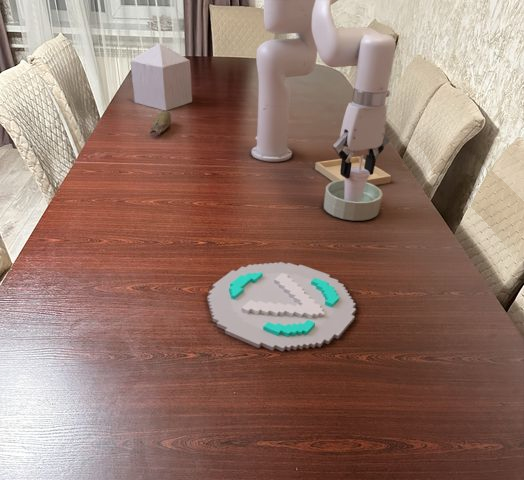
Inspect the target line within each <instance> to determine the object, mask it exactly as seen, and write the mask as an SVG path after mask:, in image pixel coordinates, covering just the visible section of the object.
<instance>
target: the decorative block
mask: <svg viewBox="0 0 524 480" xmlns="http://www.w3.org/2000/svg"><path fill="white" fill-rule="evenodd" d="M191 69H192V68H191V61H190V59H188V58H186V57H185V56H183V55H182V54H180V53H178V52H176V51H174V50H172V49H171V48H170V47H167V46H166V45H164V44H162V43H157V44H155V45H153V46H152V47H150V48H148V49H146V50H144V51H143V52H142V53H140V54H138V55H137V56H135V57H133V58H132V59H131V60H130V71H131V78H132V79H131V80H132V89H133V94H134V95H133V97H134V103H135V104H138V105H139V104H140V105H142V106H146V107H150V108H155V109H157V110H161V111H169V110H172V109H175V108H178V107H181V106H184V105H187V104H190V103H192V102H193V93H192V71H191Z"/></svg>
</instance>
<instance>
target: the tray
mask: <svg viewBox="0 0 524 480" xmlns="http://www.w3.org/2000/svg"><path fill="white" fill-rule="evenodd" d="M360 158H361V156H359V155H358V156H357V155H356V156H352V158H351V160H350V162H351V163H352V165H351V167H359V164H360ZM365 160H366V159H364V158H363V160H362V166H361V168H364V166H365ZM341 162H342V159H340V158H338V159H337V158H336V159H331V160H324V161H317V162H315V165H314V169H315V171H317V172H318V173H320V174H321V175H323V176H324V177H325V178H327V179H328V180H330V181H331V182H333V181H338V180H345V177H343V176H342V175H341V174H340V169H341ZM391 181H392V175H391V174H389V173H388V172H386V171H385V170H383V169H381V168H380V167H378V166H376V165H375V167H374V172H373V174H372V175H370V174H369V178H368V179H367V183H370V184H373V185H375V186H378V185H384V184H391Z"/></svg>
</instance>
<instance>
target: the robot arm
mask: <svg viewBox="0 0 524 480" xmlns="http://www.w3.org/2000/svg"><path fill="white" fill-rule="evenodd" d="M338 1H339V0H263V25H264V28H265V30H266V31H267V32H269V33H270V34H273V35H274V34H275V35H287V34H295V38H274V39H269V40H266V41H263V42H262V43H261V44H260V45H259V46H258V47H257V50H256V54H255V59H256V60H255V61H256V69H257V80H258V98H257V103H258V104H257V125H256V126H257V127H256V136H255V140H256V146H254V147H252V149H251V155H252V157H253V158H255V159H257V160H259V161H263V162H269V163H279V162H285V161H287V160H290V158H292V155H293V151H292V150H291V149H290V148H289V147H288V140H289V128H290V115H291V99H292V96H291V95H292V94H291V91H290V88H289V86H288V84H287V82H286V78H291V77H292V78H294V77H295V78H296V77H303V76H308V75H310V74H311V73H312V72H314V70H315V67H316V64H317V59H318V55H319V58H320V59H321V62H322V63H323V64H325V66H327V67H330V68H344V67H356V71H355V78H354V83H353V85H354V86H353V92H352V98H351V102H348V105H347V107H346V109H345V112H344V117H343V119H342V124H341V128H340V129H341V130H340V134H339V138H337V141H336V142H335V143H334V144H333V145H332V149H333V150H334V152H336V154H337V155H338V157H339V159H342V162H341V169H340V174H341V175H342V176H343V177H345V178H346V179H348V178H349V177H350V171H351V165H352V163H351V162H350V160H351V158H352V157H354V154H355V152H357V151H365V150H367V153H368V154H366V156H365V159H364V160H365V166H364V169H366V170H368V171H369V172H370V175H372V174H373V172H374V167H375V166H376V162H377V159H378V158H379V157H380V154H381V153H382V152H383V150H384V149H385V148H386V146H387V145H388V144H389V143H390V139H389V137H388V136H387V134H386V132H385V131H386V125H387V124H386V123H387V104H386V100H387V98H388V97H390V94H391V91H390V90H389V84H390V78H391V75H392V74H391V73H392V68H393V62H394V57H395V51H396V40H395V38H394V37H393V36H391V35H388V34H383V33H380V32H379V31H377V30H375V28H372V27H364V26H363V27H361V26H360V27H339V28H338V27H337V26H336V24H335V21H334V17H333V14H332V9H331V7H332V5H333V4H335V3H336V2H338Z"/></svg>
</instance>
